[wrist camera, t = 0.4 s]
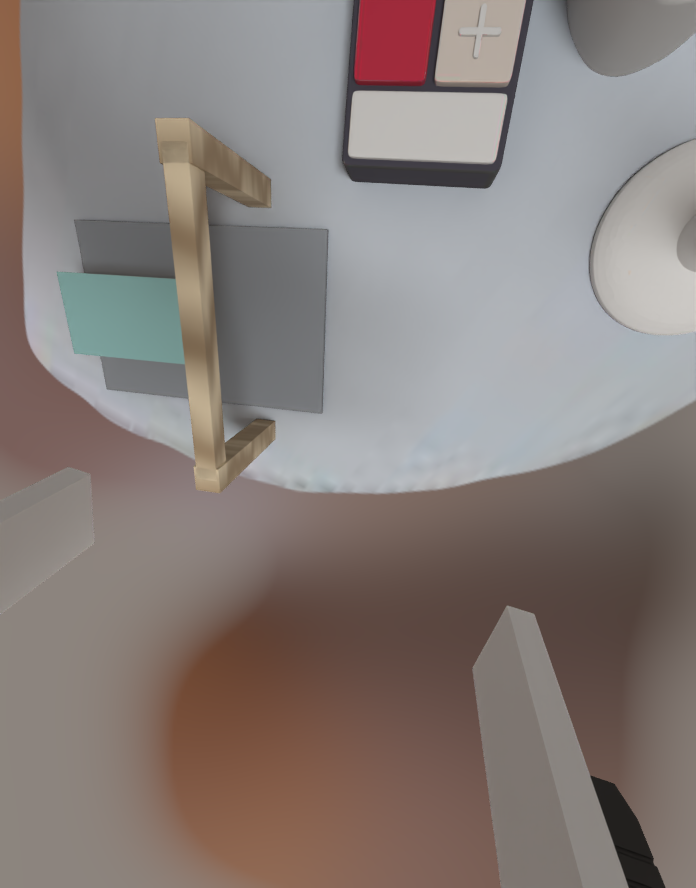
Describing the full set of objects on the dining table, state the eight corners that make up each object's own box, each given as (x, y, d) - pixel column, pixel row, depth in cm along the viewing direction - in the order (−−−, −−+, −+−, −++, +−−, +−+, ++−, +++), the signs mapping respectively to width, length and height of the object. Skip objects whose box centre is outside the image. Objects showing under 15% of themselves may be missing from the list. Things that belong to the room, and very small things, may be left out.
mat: (77, 220, 35) (74, 219, 35) (328, 230, 31) (327, 229, 31) (109, 388, 41) (106, 389, 41) (322, 412, 38) (321, 413, 37)
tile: (93, 273, 36) (56, 271, 32) (208, 281, 34) (183, 279, 31) (107, 347, 39) (74, 353, 35) (214, 358, 37) (192, 365, 33)
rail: (247, 178, 31) (154, 118, 20) (270, 179, 31) (188, 118, 20) (257, 436, 40) (196, 489, 29) (275, 438, 40) (220, 493, 29)
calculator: (569, -172, 20) (502, 169, 25) (543, -89, 24) (490, 189, 29) (362, -157, 21) (338, 161, 26) (371, -81, 25) (349, 182, 30)
